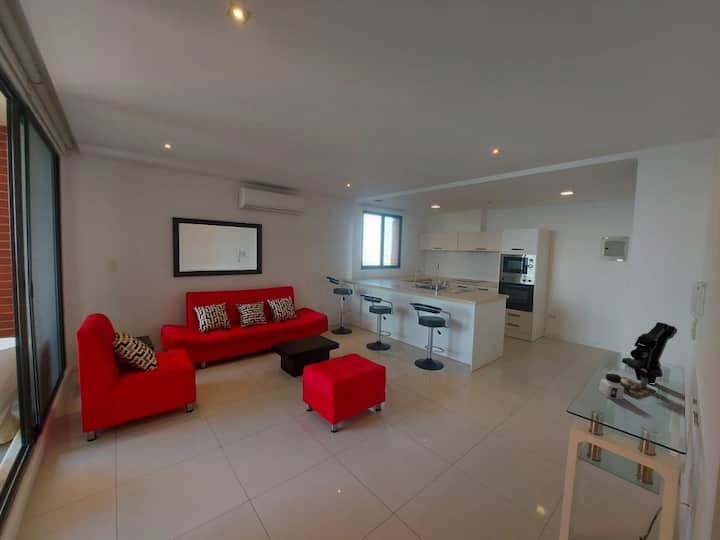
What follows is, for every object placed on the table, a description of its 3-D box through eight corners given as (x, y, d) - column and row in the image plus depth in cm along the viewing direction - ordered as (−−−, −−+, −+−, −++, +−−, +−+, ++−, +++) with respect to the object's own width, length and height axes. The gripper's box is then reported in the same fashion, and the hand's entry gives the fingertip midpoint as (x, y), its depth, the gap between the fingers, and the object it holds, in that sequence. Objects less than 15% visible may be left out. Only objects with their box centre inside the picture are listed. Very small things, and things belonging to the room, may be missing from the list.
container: (622, 400, 165) (626, 379, 163) (606, 398, 166) (610, 377, 164) (613, 392, 172) (617, 372, 170) (598, 390, 174) (602, 370, 172)
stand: (624, 378, 189) (625, 370, 188) (655, 392, 174) (657, 383, 173) (604, 383, 182) (605, 374, 181) (635, 398, 167) (637, 388, 166)
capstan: (621, 388, 174) (623, 378, 173) (612, 379, 184) (614, 369, 183) (651, 393, 170) (653, 383, 169) (640, 383, 180) (642, 373, 179)
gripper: (616, 349, 184) (612, 372, 186) (649, 364, 165) (643, 389, 168) (631, 349, 185) (626, 372, 188) (665, 363, 167) (659, 388, 170)
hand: (638, 379), depth 178 cm, fingers closed
